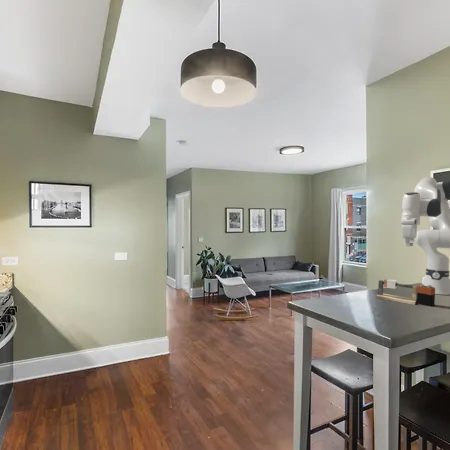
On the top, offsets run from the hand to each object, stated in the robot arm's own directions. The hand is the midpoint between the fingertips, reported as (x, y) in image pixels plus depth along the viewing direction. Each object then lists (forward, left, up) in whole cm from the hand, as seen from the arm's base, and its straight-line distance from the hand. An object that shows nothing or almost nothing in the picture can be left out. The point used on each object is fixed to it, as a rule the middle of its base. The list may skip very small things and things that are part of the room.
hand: (409, 246), depth 170 cm
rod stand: (+11, -3, -29) cm, 31 cm away
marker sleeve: (+11, -6, -23) cm, 26 cm away
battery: (+10, +10, -29) cm, 32 cm away
